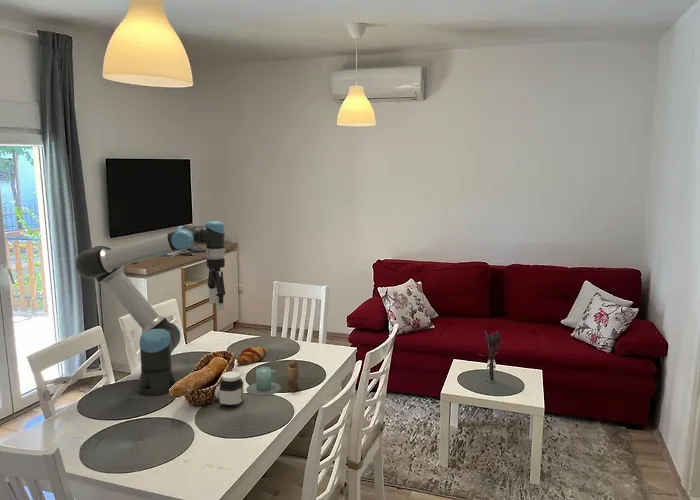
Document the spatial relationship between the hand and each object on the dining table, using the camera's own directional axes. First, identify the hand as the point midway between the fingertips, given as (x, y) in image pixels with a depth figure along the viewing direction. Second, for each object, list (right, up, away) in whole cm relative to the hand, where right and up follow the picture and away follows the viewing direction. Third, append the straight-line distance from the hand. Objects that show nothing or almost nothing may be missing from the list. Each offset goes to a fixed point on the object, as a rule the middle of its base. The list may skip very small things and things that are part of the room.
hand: (216, 306), depth 232 cm
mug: (+22, -32, -10) cm, 40 cm away
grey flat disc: (+22, -32, -10) cm, 40 cm away
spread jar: (+10, -35, -23) cm, 43 cm away
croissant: (+11, -28, +24) cm, 38 cm away
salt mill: (+34, -33, -11) cm, 48 cm away
